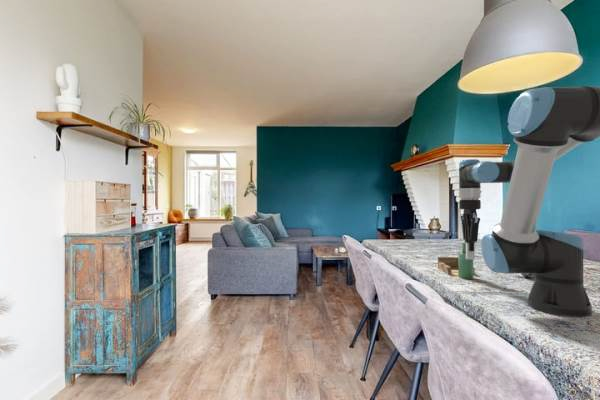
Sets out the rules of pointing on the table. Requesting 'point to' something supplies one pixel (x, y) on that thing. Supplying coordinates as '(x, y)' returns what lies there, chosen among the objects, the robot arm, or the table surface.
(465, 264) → the bottle
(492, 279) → the table surface
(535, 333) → the table surface
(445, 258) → the cradle
